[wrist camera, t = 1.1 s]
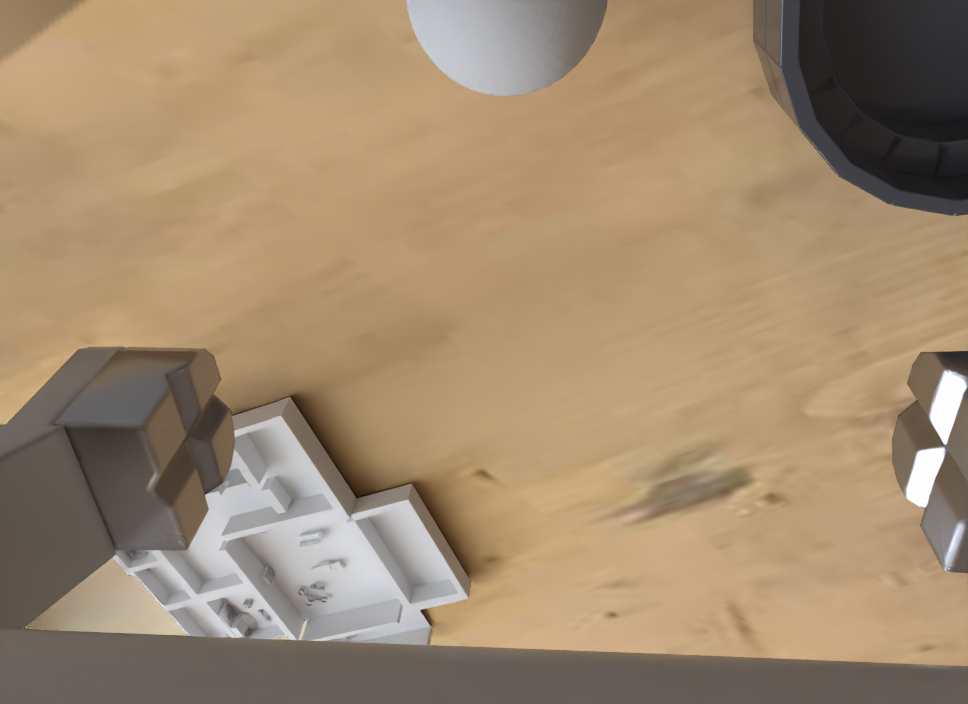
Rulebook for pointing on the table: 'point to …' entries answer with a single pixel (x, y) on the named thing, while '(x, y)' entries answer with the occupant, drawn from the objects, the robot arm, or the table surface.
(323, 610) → the floor plan model
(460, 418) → the table surface
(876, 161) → the bowl
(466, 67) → the light bulb
